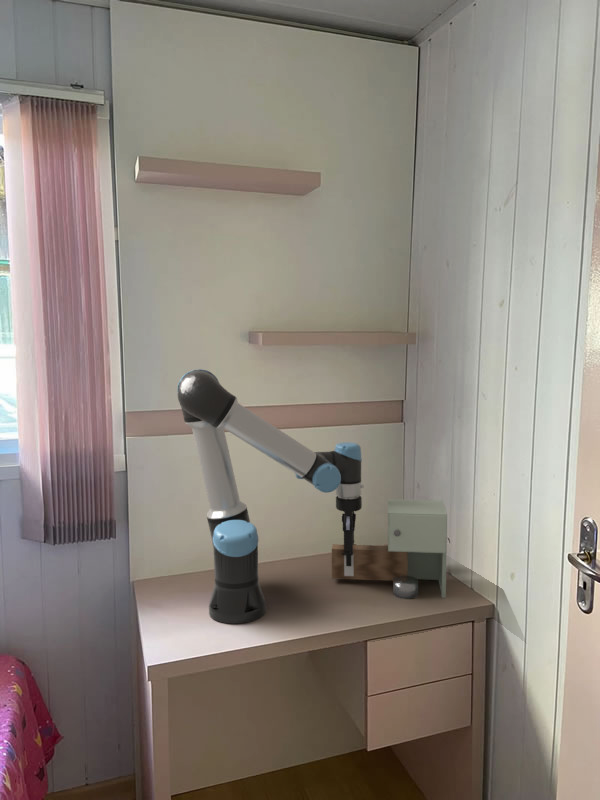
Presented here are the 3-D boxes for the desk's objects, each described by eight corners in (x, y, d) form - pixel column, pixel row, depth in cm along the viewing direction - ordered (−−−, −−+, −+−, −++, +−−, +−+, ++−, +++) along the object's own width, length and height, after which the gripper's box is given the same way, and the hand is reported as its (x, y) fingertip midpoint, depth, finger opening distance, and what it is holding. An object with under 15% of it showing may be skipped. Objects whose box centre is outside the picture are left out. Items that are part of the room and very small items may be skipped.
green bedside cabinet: (387, 598, 180) (388, 514, 178) (387, 576, 196) (388, 499, 193) (446, 600, 178) (447, 516, 175) (441, 578, 194) (442, 500, 191)
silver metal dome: (394, 599, 180) (394, 585, 179) (392, 588, 187) (391, 575, 186) (419, 599, 180) (419, 585, 179) (416, 588, 186) (416, 575, 186)
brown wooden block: (332, 578, 191) (331, 548, 190) (333, 573, 195) (332, 544, 194) (407, 581, 188) (407, 551, 187) (407, 575, 192) (407, 546, 191)
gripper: (360, 504, 180) (361, 584, 183) (362, 488, 197) (362, 562, 200) (333, 503, 181) (334, 583, 184) (337, 488, 198) (338, 561, 201)
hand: (349, 572), depth 192 cm, fingers closed on brown wooden block, 4 cm apart
